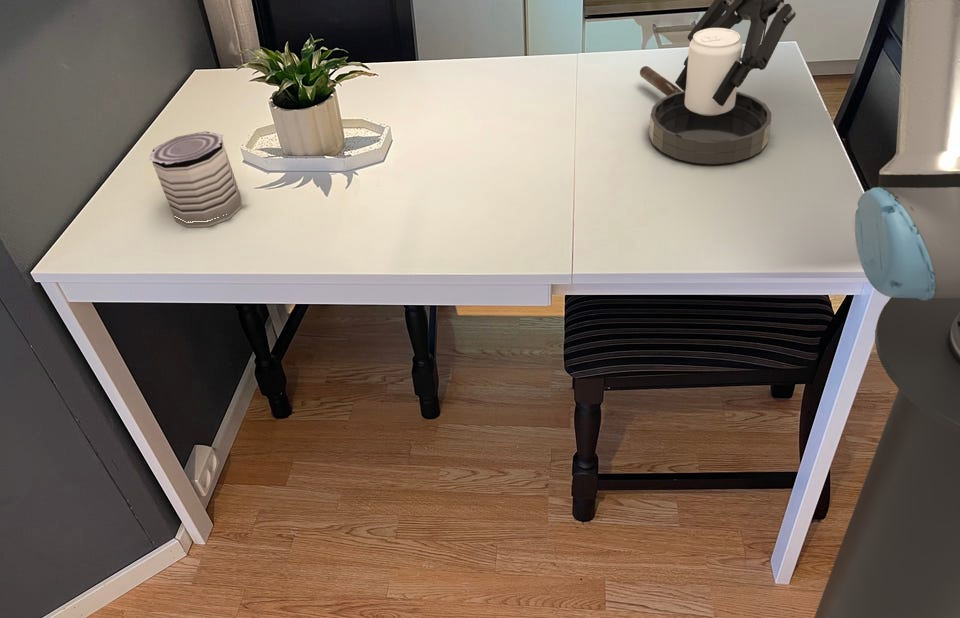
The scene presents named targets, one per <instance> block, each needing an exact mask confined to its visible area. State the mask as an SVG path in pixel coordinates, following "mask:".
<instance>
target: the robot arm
mask: <svg viewBox="0 0 960 618" xmlns="http://www.w3.org/2000/svg"><path fill="white" fill-rule="evenodd" d="M774 14H775V15H774ZM772 15H774V16H773V19H772V20H771V22H770V23H769V26H768V28H767V25H768V22H769V18H770V17H771V16H772ZM796 16H797V13H796V11H795V10H794V8H793V6H792V5H791V4H790V3H785V0H713V2H712V3H711V5H710V6H709V7H708V8H707V9H706V11H705V12H704V14H703V15H702V16H701V18H700V19H699V20H698V21H697V23H696V24H695V26H694V27H693V28H692V30H691V31H690V32H689V34H688V35H687V40H688V41H689V43H690V42H691V40H692V39H693V36H694V34H695V33H696V32H698V31H700V30H703V29H708V28H726V29H730V30H732V28H733V27H734V26H735V25H738V24H740V23H741V22H742V21H750V25H749V29H748V32H747V36H746V40H745V45H744V47H743V52H742V54H741V58H739V59H740V62H738V61H735V62H734V64H733V65H732V67H731V69H730V70H729V72H728V73H727V75H726V77H725V78H724V80H723V81H722V83H721V85H720V86H719V88H718V89H717V91H716V92H715V94H714V96H713V97H712V98H713V99H714V100H715V101H716V102H717V103H718V104H719V105H720V106H723V105H724V104H725V102H726V101H727V99H728V97H729V96H730V94H731V93H732V91H733V90H734V88H735V87H737V88H740V87H741V86H742V84H743V82H744V81H745V80H746V78H747V76H748V75H749V74H750V72H751V71H752V70H757V69H759V70H760V71H763V70H765V69H766V68H767V66H768V64H769V62H770V60H771V58H772V56H773V54H774V52H775V50H776V48H777V46H778V45H779V42H780V40H781V38H782V36H783V35H784V32H785V30H786V28H787V26H788V25H789V24H790V23H791V22H792V21H793V20H794V19H795V18H796ZM766 29H767V31H766V32H765V34H764V31H765V30H766ZM902 30H903V31H902V45H901V46H902V48H901V64H900V81H899V99H898V114H897V129H896V130H897V131H896V145H895V146H896V148H895V149H896V150H895V154H894V156H893V157H892V158H891V159H890V160H889V161H888V162H887V163H886V164H885V165H884V166H883V167H881V168H880V169H879V171H878V186H877V187H872V188H871V189H867V190H866V191H865V192H862V194H861V196H860V197H859V199H858V201H857V209H856V210H855V214H854V235H855V245H856V250H857V254H858V255H857V256H858V259H859V263H860V265H861V267H862V270H863V273H864V274H865V277H866V278H867V280H868V282H869V284H870V285H871V286H872V287H873V288H874V289H875V290H876V291H877V292H878V293H879V294H881V295H883V296H886V297H888V298H891V297H893V298H918V299H920V300H930V299H932V298H960V0H904V13H903V29H902ZM763 35H764V36H763ZM683 66H684V68H683V69H682V71H681V72H680V73H679V75H678V77H677V79H676V80H675V82H674V84H675V85H676V86H677V87H678V88H679V89H680V90H681V91H685V90H686V78H687V66H688V55H687V57H686V58H685V60H684V61H683ZM948 343H949V347H950V350H951V352H952V354H953V356H954V357H955V359H956V360H957V361H958V363H959V364H960V313H959V314H958V315H957V317H956V318H955V320H954V322H953V324H952V326H951V329H950V331H949V335H948Z"/></svg>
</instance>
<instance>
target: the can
mask: <svg viewBox="0 0 960 618" xmlns="http://www.w3.org/2000/svg"><path fill="white" fill-rule="evenodd" d="M223 137H224V134H220V133H216V132H211V131H206V130H205V131H199V132H195V133H194V132H193V133H189V134H184V135H179V136H175V137H174V138H172V139H170V140H167V141H165V142H164V143H161V144H160V145H157V146H155V147H153V149H152V151H151V153H150V156H149V158H148V161H150V162H151V163H152V165H153V168H154V171H155V173H156V176H157V178H158V180H159V181H158V182H159V184H160V186H161V189H162V190H163V193H164V196H165V198H166V201H167V203H168V205H169V206H168V207H169V208H170V210H171V213H172V216H173V215H174V216H176V217H178V218H180V219H182V220H184V221H186V222H188V221H189V222H190V221H191V222H192V221H207V220H211V219H213V220H211V221H208V222H193V223H186V222H184V221H182V220H180V219H178V218H176V217H174V216H173V218H174V221H175V222H176V223H178V224H180V225H181V226H183V227H185V228H188V229H192V228H193V229H194V228H210V227H213V226H215V225H218V224H220V223H223V222H226V221H228V220H230V219H231V218H232V217H234V215H236V214H237V213H238V212H239V211H240V210H241V209H242V208H243V205H242V197H241V196H242V195H241V193H240V189H239V187H238V184H237V180H236V178H235V177H236V176H235V174H234V171H233V168H232V166H231V162H230V159H229V156H228V153H227V150H226V147H225V143H224V140H223ZM226 214H227V215H226ZM223 215H224V216H223ZM217 217H219V218H217ZM214 218H216V219H214Z"/></svg>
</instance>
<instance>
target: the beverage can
mask: <svg viewBox="0 0 960 618" xmlns="http://www.w3.org/2000/svg"><path fill="white" fill-rule="evenodd" d="M742 51H743V42H742V40H741V35H740V33H739V32H737V31H736V30H734V29H726V28H708V29H703V30H700V31H698V32H696V33H695V34H694V36H693V39H692V40H691V42H690V41H689V45H688V55H687V56H688V66H687V78H686V90H685V102H684V103H685V106H686V108H687V109H689V110H690V111H692V112H694V113H697V114H700V115H706V116H713V115H719V114H723V113H726V112H728V111H730V110H731V109H732V108H733V107H734V106H735V99H736V92H738V87H735V88H734V90H733V91H732V93H731V94H730V96H729V97H728V99H727V101H726V102H725V104H724V105H723V106H720V105H719V104H718V103H717V102H716V101H715V100H714V99H713V98H712V97H713V96H714V94H715V92H716V91H717V89H718V88H719V86H720V85H721V83H722V81H723V80H724V78H725V77H726V75H727V73H728V72H729V70H730V69H731V67H732V65H733V64H734V62H735V61H738V62H740V63H741V61H740V59H739V58H742V54H743V52H742Z"/></svg>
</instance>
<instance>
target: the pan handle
mask: <svg viewBox="0 0 960 618" xmlns="http://www.w3.org/2000/svg"><path fill="white" fill-rule="evenodd" d="M639 75H640V77H641V78H642V79H644V80H645V81H646V82H648V83H649V84H650V85H652V86H653V87H654V88H656V89H657V90H658V91H660V92H661V93H662V94H664V96H665V97H666V96H669V95H671V94H673V93H677V92H681V91H682V89H681V88H680V87H679V86H677V85H676V84H673V83H672V82H671V81H669V80H668V79H666V77H664V76H662V75H661V74H659V73H658V71H656V70H654V69H652V68H651V67H649V66H648V65H646V66H642V67H640V69H639Z"/></svg>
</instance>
